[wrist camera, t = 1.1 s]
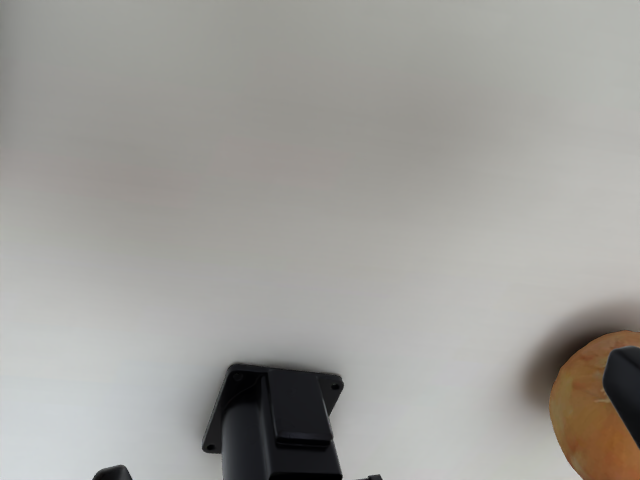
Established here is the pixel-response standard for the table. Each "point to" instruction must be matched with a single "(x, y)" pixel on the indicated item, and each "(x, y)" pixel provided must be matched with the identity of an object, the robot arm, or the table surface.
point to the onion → (593, 414)
